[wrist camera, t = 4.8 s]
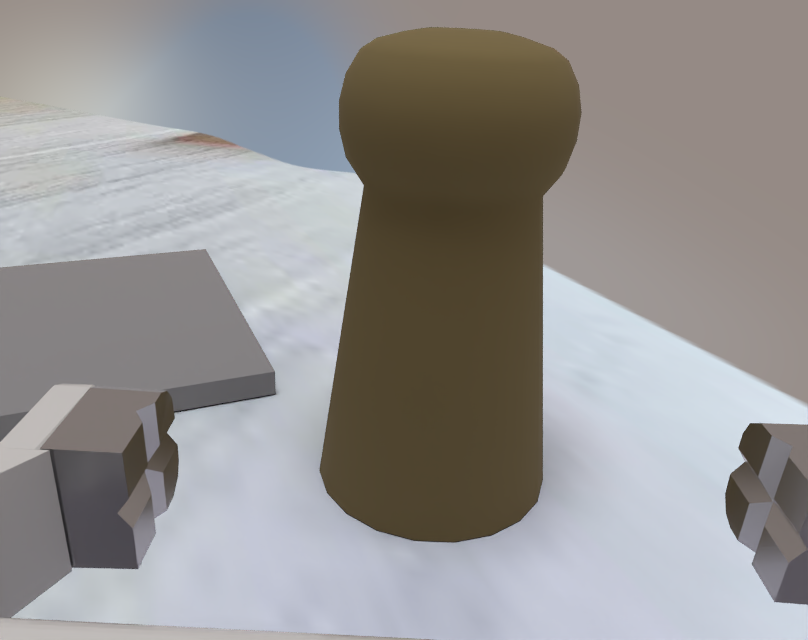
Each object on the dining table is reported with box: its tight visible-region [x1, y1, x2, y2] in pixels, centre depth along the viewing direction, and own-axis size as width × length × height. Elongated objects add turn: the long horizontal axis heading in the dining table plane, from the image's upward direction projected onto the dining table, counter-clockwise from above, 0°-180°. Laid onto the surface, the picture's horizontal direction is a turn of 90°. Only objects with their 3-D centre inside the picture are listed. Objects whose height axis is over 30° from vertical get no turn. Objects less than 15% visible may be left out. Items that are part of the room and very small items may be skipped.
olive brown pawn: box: [320, 27, 581, 542], centre depth 17 cm, size 6×6×11 cm
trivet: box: [0, 249, 275, 442], centre depth 25 cm, size 12×12×1 cm
